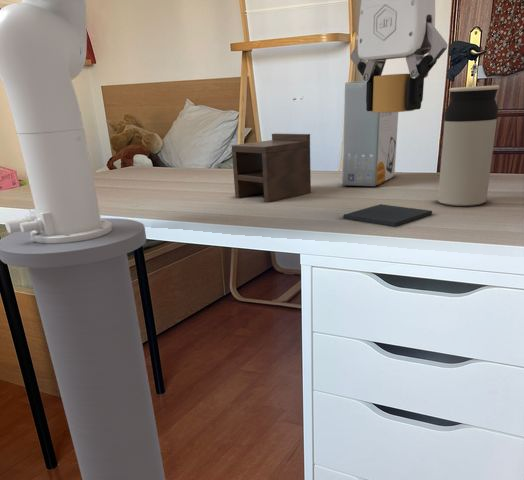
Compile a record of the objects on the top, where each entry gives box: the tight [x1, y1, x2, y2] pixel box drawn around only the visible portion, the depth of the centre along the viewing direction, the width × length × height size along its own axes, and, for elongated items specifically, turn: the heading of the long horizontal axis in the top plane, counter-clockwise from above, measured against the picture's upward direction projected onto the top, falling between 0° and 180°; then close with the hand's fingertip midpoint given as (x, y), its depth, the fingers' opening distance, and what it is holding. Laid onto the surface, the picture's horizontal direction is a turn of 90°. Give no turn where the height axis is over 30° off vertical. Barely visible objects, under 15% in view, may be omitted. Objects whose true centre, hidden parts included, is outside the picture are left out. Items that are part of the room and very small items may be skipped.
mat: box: [342, 204, 433, 227], centre depth 85 cm, size 10×10×1 cm
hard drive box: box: [341, 80, 399, 187], centre depth 113 cm, size 16×8×20 cm, turn 153°
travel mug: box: [437, 84, 500, 207], centre depth 88 cm, size 8×8×18 cm
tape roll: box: [373, 73, 414, 113], centre depth 77 cm, size 6×6×5 cm
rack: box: [231, 132, 312, 203], centre depth 106 cm, size 12×10×11 cm
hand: (393, 108), depth 78 cm, fingers closed on tape roll, 6 cm apart
